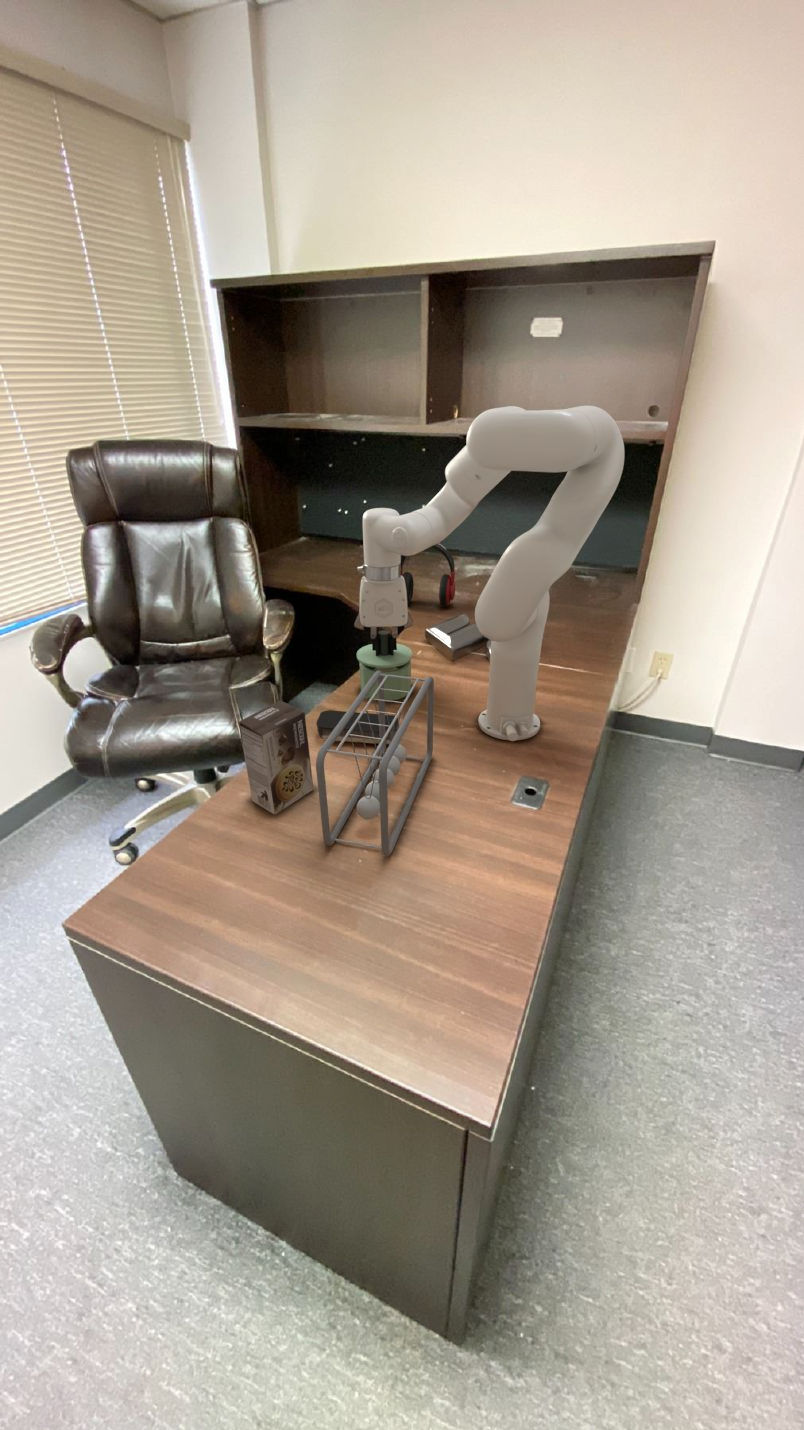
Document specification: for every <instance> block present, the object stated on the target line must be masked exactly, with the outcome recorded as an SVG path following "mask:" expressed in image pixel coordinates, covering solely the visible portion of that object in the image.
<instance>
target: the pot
mask: <svg viewBox="0 0 804 1430" xmlns="http://www.w3.org/2000/svg"><path fill="white" fill-rule="evenodd" d="M411 660H412V659H411ZM411 660H410V661H409V662H407V663H406V664H403V665H400V666H397V667H396V668H399V669H398V670H393V671H381V672H382V673H383V674H386V675H395V676H404V677H412V662H411ZM376 668H377V667H371V666H367V665H364V664H362V663H361V662H359V679H360V681H359V683H360V692H361V691H362V690H363V688H364V687H365V686H366V684H367V683H368V682H369V680H370V679H371V677H372V676H373V675H374V673H375V672H376V671H375V670H374V669H376ZM384 678H385V677H384ZM377 688H378V680H377V681H376V683H375V684H374V686H373V687H372V689H371V690H370V691H369V693H368V694H367V696H366V697H365V699H366V700H368V699H370V698H371V697H372V696H373V694H374V693H375V691H376V690H377ZM411 688H412V680H411V679H402V678H393V677H387V679H386V680H385V682H384V700H387V701H386V702H391V701H398V700H400V699H403V698H406V697H407V695H408V692H410V690H411ZM385 689H389V690H385ZM393 690H398V691H393ZM402 691H406V692H402ZM373 699H374V700H375V699H378V692H377V694H376V695H375V697H374V698H373ZM374 700H373V701H374ZM375 701H376V700H375Z"/></svg>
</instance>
